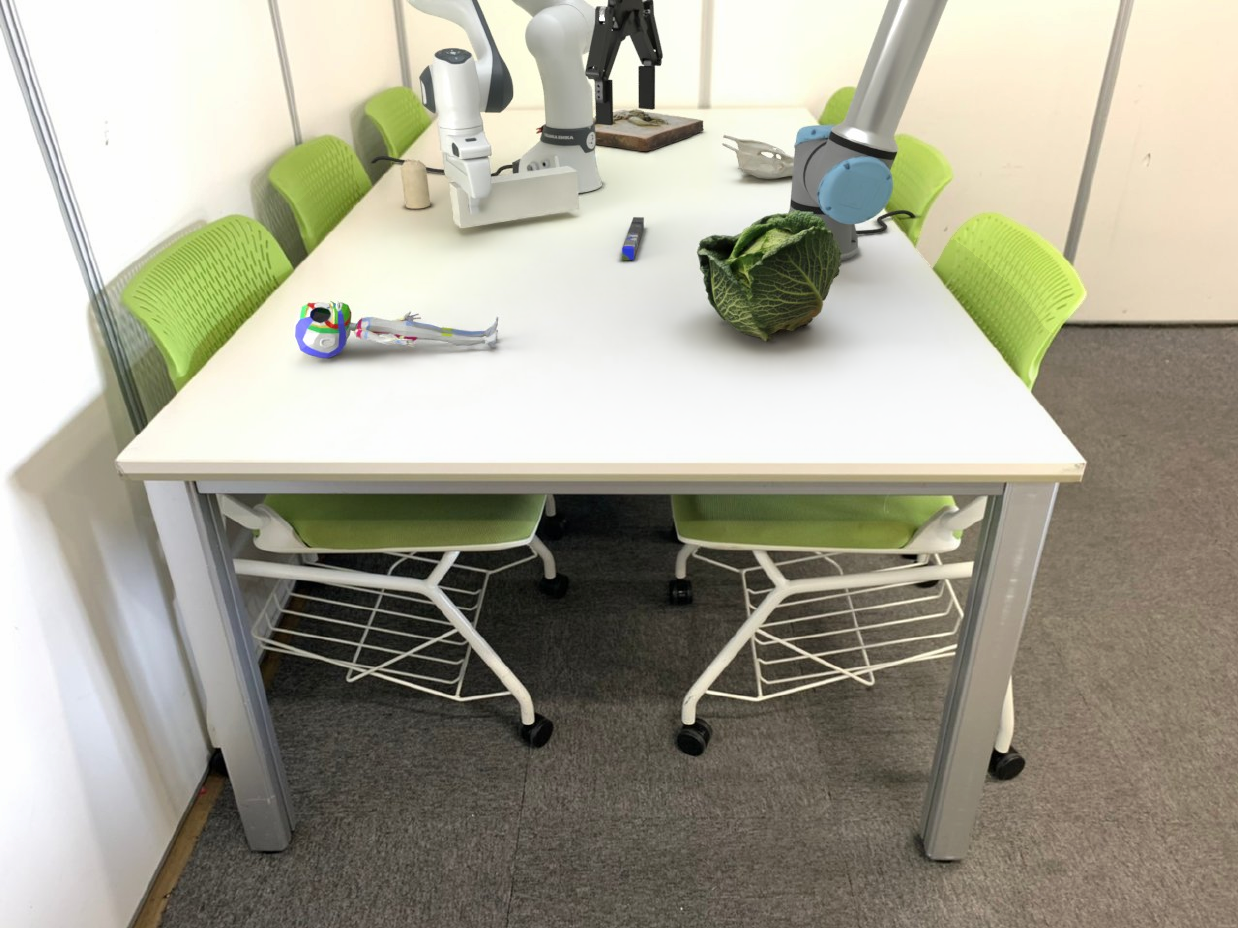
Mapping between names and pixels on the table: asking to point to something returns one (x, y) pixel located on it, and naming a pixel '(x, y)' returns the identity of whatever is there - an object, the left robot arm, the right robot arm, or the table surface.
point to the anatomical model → (761, 159)
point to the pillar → (633, 238)
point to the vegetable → (770, 272)
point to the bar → (519, 197)
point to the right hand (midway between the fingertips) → (626, 116)
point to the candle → (415, 184)
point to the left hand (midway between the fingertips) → (469, 209)
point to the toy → (371, 330)
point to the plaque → (645, 130)
